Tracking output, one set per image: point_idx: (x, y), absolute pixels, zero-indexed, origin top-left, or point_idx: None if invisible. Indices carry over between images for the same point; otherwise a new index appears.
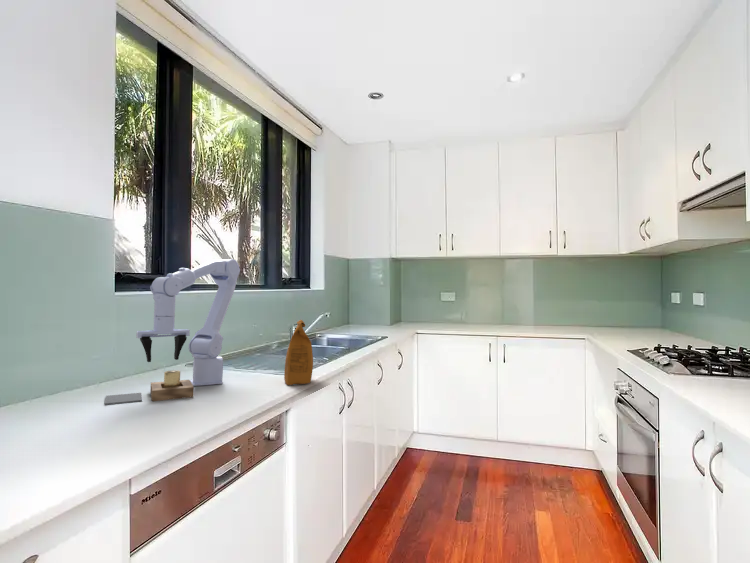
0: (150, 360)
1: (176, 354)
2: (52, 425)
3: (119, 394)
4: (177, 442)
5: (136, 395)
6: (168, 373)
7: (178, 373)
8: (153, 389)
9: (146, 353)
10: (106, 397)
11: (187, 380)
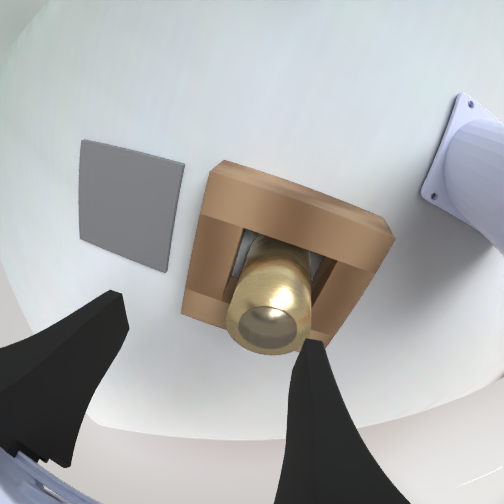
0: (122, 337)
1: (289, 406)
2: (41, 301)
3: (113, 148)
4: (187, 437)
5: (158, 203)
6: (236, 341)
7: (285, 350)
8: (187, 300)
9: (72, 326)
10: (80, 167)
11: (377, 250)
